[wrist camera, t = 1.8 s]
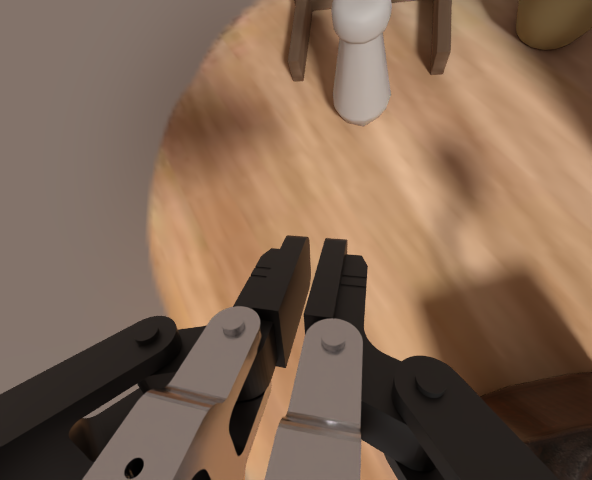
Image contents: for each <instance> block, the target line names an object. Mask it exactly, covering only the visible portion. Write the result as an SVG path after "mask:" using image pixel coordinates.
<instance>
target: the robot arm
mask: <svg viewBox="0 0 592 480" xmlns="http://www.w3.org/2000/svg"><path fill="white" fill-rule="evenodd" d="M367 267H368V266H367V264H366V262H365V261H364V259H363V257H362V256H359V255H347V240H344V239H330V238H326V239H325V241H324V245H323V248H322V252H321V256H320V259H319V263H318V266H317V270H316V273H315V277H314V280H313V284H312V287H311V291H310V294H309V298H308V301H307V305H306V308H305V312H304V325H305V338H304V342H303V347H302V351H301V356H300V360H299V364H298V369H297V373H296V378H295V382H294V387H293V391H292V395H291V400H290V404H289V408H288V412H287V414H286V416H285V417H283V418H282V419H281V421H280V423H279V426H278V429H277V432H276V436H275V440H274V444H273V448H272V452H271V456H270V460H269V464H268V468H267V472H266V477H265V480H360V467H361V439H362V440H363V441H365V442H367V443H368V444H370V445H371V446H373V447H375V448H376V449H378V450H380V451H381V452H383V453H384V455H385V457H386V459H387V461H388V463H389V465H390V467H391V468H392V470H393V472H394V474H395V475H396V477H397V479H398V480H559V479H558V478H557V477H556V476H555V475H554V474H553V473H552V472H551V471H550V470H549V468H548V467H547V466H546V465H545V464H544V463H543V462H542V461H541V460H540V459H539V458H538V457H537V456H536V455H535V454H534V453H533V452H532V451H531V450H530V449H529V448H528V447H527V446H526V445H525V443H524V442H523V441H522V440H521V439H520V438H519V437H518V436H517V435H516V434H515V433H514V432H513V431H512V430H511V429H510V428H509V427H508V426H507V425H506V424H505V423H504V422H503V421H502V420H501V418H500V417H499V416H498V415H497V414H496V413H495V412H494V411H493V410H492V409H491V408H490V407H489V406H488V405H487V404H486V403H485V402H484V401H483V400H482V399H481V398H480V397H479V396H478V395H477V393H476V392H475V391H474V390H473V389H472V388H471V387H470V386H469V385H468V384H467V383H466V382H465V381H464V380H463V379H462V378H461V377H460V376H459V375H458V374H457V373H456V372H455V371H454V370H453V369H452V368H451V367H450V366H448V365H447V364H445V363H443V362H442V361H440V360H437V359H435V358H432V357H427V356H412V357H409V358H407V359H405V360H403V361H399V360H397V359H395V358H393V357H390V356H388V355H386V354H384V353H382V352H381V351H379V350H378V349H376V348H375V347H374V346H373V345H372V344H371V343H370V342H369V340H368V339H367V337H366V334H365V331H364V314H365V298H366V283H367ZM310 279H311V266H310V244H309V238H308V237H302V236H286V238H285V240H284V242H283V244H282V246H281V248H280V249H274V248H271V249H270V250H269V251H267V252H266V253H265V254H264V255H262V256H261V257H260V259H259V261H258V263H257V265H256V268H254V270H253V272H252V274H251V277H249V279H248V281H247V283H246V284H245V286H244V288H243V290H242V291H241V293H240V295H239V297H238V299H237V300H236V302H235V304H234V306H233V307H230V308H227V309H225V310H222V311H221V312H219V313H217V314H216V315H215V316H214V317H213V318H212V319H211V320H210V322H209V323H208V325H207V326H202V327H195V328H187V329H180V330H178V329H177V327H176V324H175V322H174V321H173V320H172V319H170V318H168V317H165V316H154V317H149V318H146V319H144V320H142V321H139V322H137V323H135V324H134V325H132V326H130V327H128V328H126V329H124V330H122V331H120V332H118V333H116V334H115V335H113V336H111V337H109V338H107V339H105V340H103V341H102V342H99V343H97V344H95V345H94V346H92V347H90V348H88V349H86V350H84V351H82V352H80V353H78V354H76V355H75V356H73V357H71V358H69V359H67V360H65V361H63V362H61V363H59V364H57V365H55V366H54V367H52V368H50V369H48V370H46V371H44V372H42V373H40V374H38V375H37V376H35V377H33V378H31V379H29V380H27V381H25V382H23V383H21V384H19V385H17V386H16V387H14V388H12V389H10V390H8V391H6V392H4V393H3V394H0V480H245V468H246V463H247V459H248V456H249V453H250V450H251V447H252V444H253V441H254V439H255V436H256V433H257V430H258V427H259V424H260V421H261V418H262V415H263V413H264V410H265V407H266V404H267V401H268V398H269V395H270V392H271V386H272V385H271V379H272V376H273V373H274V369H275V366H278V367H283V368H286V366H287V363H288V359H289V356H290V352H291V349H292V345H293V342H294V339H295V335H296V332H297V328H298V325H299V322H300V318H301V315H302V311H303V308H304V305H305V301H306V298H307V294H308V291H309V287H310ZM135 384H138V386H139V389H137V390H136V391H134V392H132V393H131V394H129V395H128V396H126V397H125V398H123V399H121V400H120V401H118V402H117V403H115V404H114V405H112V406H111V407H109V408H107V409H106V410H104V411H103V412H101V413H100V414H98V415H96V416H94V417H91V418H83V417H84V416H86V415H88V414H89V413H91V412H92V411H94V410H96V409H97V408H99V407H100V406H102V405H104V404H105V403H107V402H108V401H110V400H112V399H113V398H115V397H116V396H118V395H120V394H121V393H122V392H124V391H126V390H127V389H129V388H130V387H132V386H134V385H135Z"/></svg>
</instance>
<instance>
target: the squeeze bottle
mask: <svg viewBox="0 0 592 480" xmlns="http://www.w3.org/2000/svg"><path fill="white" fill-rule="evenodd" d="M591 28H592V0H519V4H518V11H517V19H516V33H517V35H518V36H519V38H520V39H521V41H522V42H524V43H526V44H527V45H529V46H530V47H533V48H538V49H542V50H548V49H558V48H560V47H563V46H566V45H568V44H570V43H571V42H573V41H574V40H576V39H577V38H578V37H580V36H581V35H583V34H584V33H586V32H587V31H588V30H590V29H591Z"/></svg>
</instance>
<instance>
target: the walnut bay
mask: <svg viewBox="0 0 592 480" xmlns="http://www.w3.org/2000/svg"><path fill="white" fill-rule="evenodd" d="M294 1H295V6H296V7H295V14H294V21H293V28H292V35H291V42H290V49H289V56H288V64H289V68H290V71H291V74H292V78H293V81H303V80H304V73H305V65H306V57H307V49H308V42H309V34H310V26H311V19H312V11H314V10H324V9H332V2H333V0H294ZM404 1H414V0H391V3H394V2H404ZM451 6H452V0H433V24H432V51H431V75H437V74H443V72H444V69H445V66H446V63H447V60H448V57H449V54H450V50H451Z"/></svg>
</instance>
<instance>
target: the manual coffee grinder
mask: <svg viewBox="0 0 592 480" xmlns="http://www.w3.org/2000/svg"><path fill="white" fill-rule="evenodd" d="M480 398H481V399H482V400H483V401H484V402H485V403H486V404H487V405H488V406H489V407H490V408H491V409H492V410H493V411H494V412H495V413H496V414H497V415H498V416H499V417H500V418H501V420H502V421H503V422H504V423H505V424H506V425H507V426H508V427H509V428H510V429H511V430H512V431H513V432H514V433H515V434H516V435H517V436H518V437H519V438H520V439H521V440H522V441H523V442H524V443H525V445H526V446H527V447H528V448H529V449H530V450H531V451H532V452H533V453H534V454H535V455H536V456H537V457H538V458H539V459H540V460H541V461H542V462H543V463H544V464H545V465H546V466H547V467H548V468H549V470H550V471H551V472H552V473H553V474H554V475H555V476H556V477H557V478H558V479H559V480H592V372H588V373H578V374H568V375H562V376H557V377H552V378H547V379H542V380H537V381H532V382H528V383H523V384H518V385H514V386H509V387H505V388H502V389H500V390H497V391H494V392H492V393H489V394H487V395H484V396H481V397H480Z"/></svg>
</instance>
